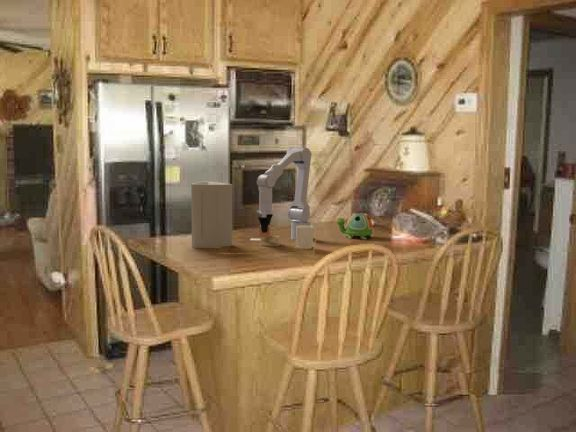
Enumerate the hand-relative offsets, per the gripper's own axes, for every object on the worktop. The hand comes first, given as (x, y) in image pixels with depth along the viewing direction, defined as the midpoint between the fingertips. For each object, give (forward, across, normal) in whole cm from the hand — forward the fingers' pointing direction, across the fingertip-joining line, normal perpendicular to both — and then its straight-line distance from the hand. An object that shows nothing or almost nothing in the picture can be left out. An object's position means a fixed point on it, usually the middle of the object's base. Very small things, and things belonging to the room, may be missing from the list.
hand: (265, 231), depth 269 cm
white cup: (+7, +5, +18) cm, 20 cm away
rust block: (+2, 0, 0) cm, 2 cm away
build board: (+7, -6, 0) cm, 9 cm away
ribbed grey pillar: (+7, +3, -26) cm, 27 cm away
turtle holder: (+7, -29, +42) cm, 52 cm away
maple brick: (+6, 0, +2) cm, 6 cm away
